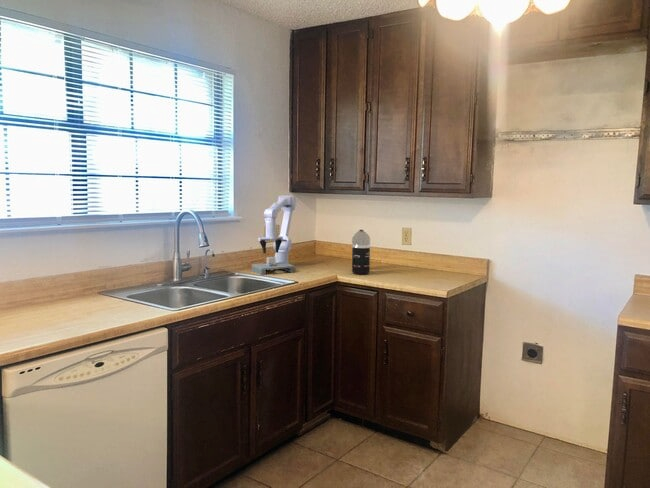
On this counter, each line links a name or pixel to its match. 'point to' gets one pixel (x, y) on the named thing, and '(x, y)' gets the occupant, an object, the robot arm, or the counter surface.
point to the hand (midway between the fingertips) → (270, 252)
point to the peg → (270, 261)
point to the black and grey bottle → (361, 253)
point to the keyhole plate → (280, 265)
